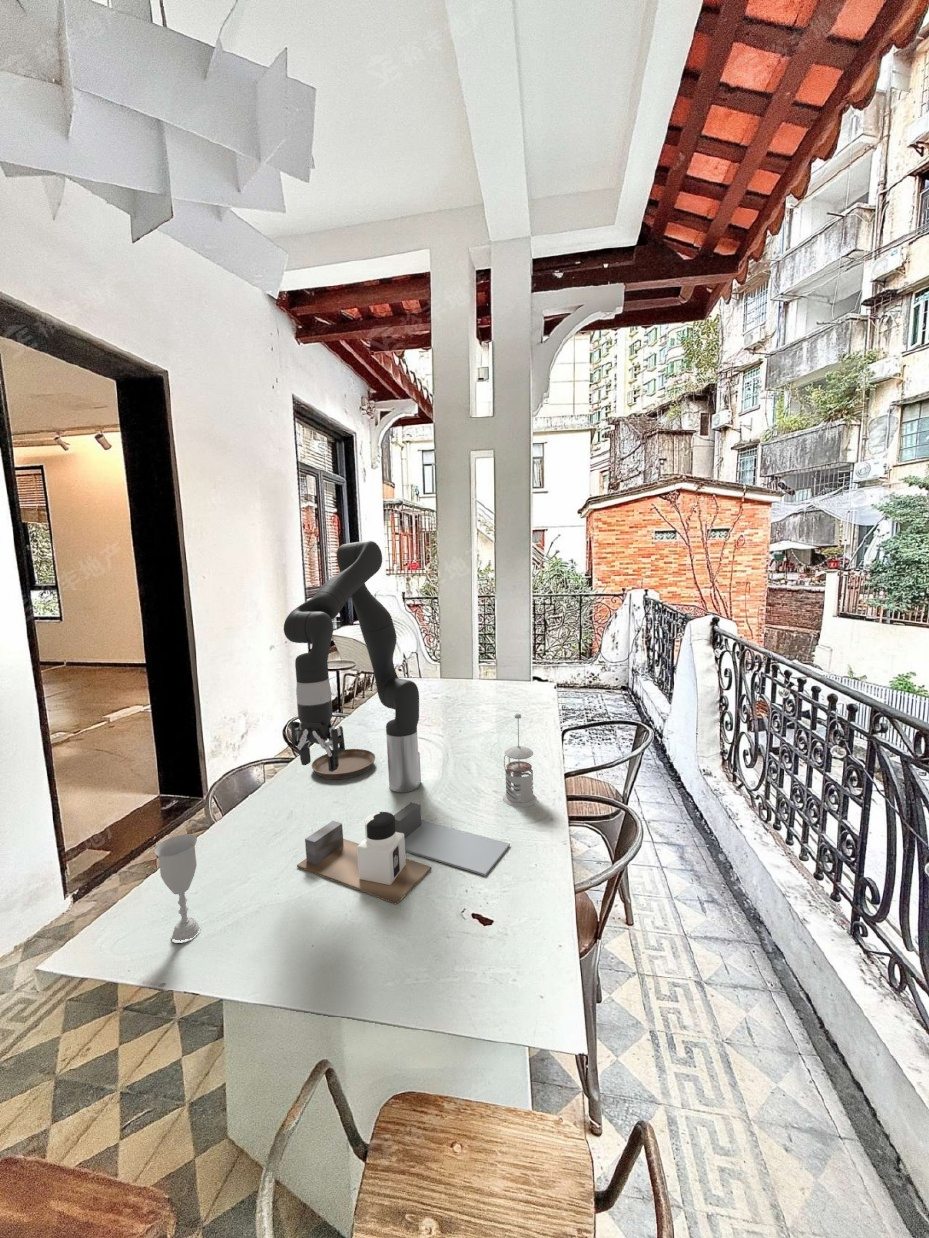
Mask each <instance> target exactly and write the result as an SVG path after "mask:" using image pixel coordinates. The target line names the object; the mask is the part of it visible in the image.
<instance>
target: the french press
mask: <svg viewBox="0 0 929 1238" xmlns="http://www.w3.org/2000/svg"><path fill="white" fill-rule="evenodd" d="M514 719H517V745H514V746H510V747H508V748H506V749H505V750H504V757H503V768H504V772H505V794H504V795H503V796H502V801H503V803H504V804H506V805H508V806H511V807H515V808H525V807H531V806H532V805H534V804H536V803H537V801H538V798H537V797H538V796H536V795H535V794H534V769H532V767H533V766H532V765H531V763H530V762H526V761H522V760H527V759H531V758H532V756H533V755H534V751H533V750H532V749H531V748H529V747H527V746H524V745H520V735H519V734H520V731H519V729H520V728H519V722H520V721H519V719H522V715H521V714H520V713H516V714H515V715H514ZM506 757H507V758H508V764H506V763H505V759H506ZM510 759H513V760H517V761H511V762H510Z"/></svg>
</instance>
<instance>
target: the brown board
mask: <svg viewBox="0 0 929 1238" xmlns="http://www.w3.org/2000/svg"><path fill="white" fill-rule="evenodd" d="M343 831H344V829H343V823H342V822H339V821H336V820H331V821H330V822H328V824H326V825H323V827H321V828H319V829H318V830H317V831H315V832H313V833H312V834H310V835H308V836H307V837H305V839H304V844H305V859H303V860H302V861H300V862H299V863H298V864H297V865H296V867H297V868H299V869H302V870H305V871H306V872H310V873H313V874H315V875H317V876H320V877H323V878H325V879H327V880H331V881H334V882H336V883H338V884H342V885H344V886H348V887H349V888H351V889H355V890H358V891H360V892H363V893H366V894H367V895H368V894H369V895H372V896H373V897H376V898H379V899H382V900H385V901H387V902H390V903H392V904H395V905H398V903H400V901H401V900H403V898H405V896H406V895H407V894H408V893H409V892H410V891H411V890H412V889H413V888H414V887H415V886H416V885H417V884H418V883H419V882H420V881H421V880H422V879H423V878H424V877H425V876H426V875H427V874H428V873H429V872H430V871H431V870H432V866H431V865H427V864H424V863H421V862H418V861H415V860H411V859H408V858H407V857H405V859H406V865H405V866H404V868H403V869H402V870H401V872H400V873H399V874H398V876H397V877H396V878H395V880H394V881H393V883H392V884H391V885H386V884H381V883H376V882H371V881H366V880H361V879H359V869H358V854H357V846H358V845H359V844H360V843H358V842H355V841H351V840H349V839H346V838H344V832H343Z"/></svg>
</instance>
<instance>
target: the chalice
mask: <svg viewBox="0 0 929 1238" xmlns="http://www.w3.org/2000/svg"><path fill="white" fill-rule="evenodd" d="M197 841H198V838H197V836H195V835H194V834H187V833H186V834H178V835H175V836H172V837H170V838H168V839H165V840H164V841H162V842H160V843H158V845H157V846H156V848H155V849H154V854H155V855H156V856H157V857H158V865H159V872H160V873H159V874H160V878H161V879H162V881H163V882H164V884H165V886H166V887H167V888H168V889H169V890H170V891H171V893H172V894H174V895H178V900H177V904H178V905H179V907H180V908H179V910H178V914H179V915H180V916H181V920H179V921H178V922H177V923H176V924H175V926H174V928H173V929H174V930H173V931H172V935H171V937H172V939H175V940H180V941H181V940H185V939H190V938H193V937H194V936H195V935H196V934H197V933H198V931H199V929H200V927H201V926H200V925H199V923H198V922H197V920H196V919H195V918H192V917H188V912H189V909H190V908H189V907H187V905H186V904H187V901H188V898H186V895H185V893H186V892H187V891H188V890H189V889H190V887H191V885H192V882H193V879H194V877H195V873H196V871H197V866H198V865H197V856H196V847H195V846H196V844H197ZM199 926H200V927H199Z"/></svg>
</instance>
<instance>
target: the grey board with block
mask: <svg viewBox="0 0 929 1238" xmlns="http://www.w3.org/2000/svg"><path fill="white" fill-rule="evenodd" d="M421 807H422V806H421V804H420V803H415V802H412V801H410V802H409V803H407V804H406V805H405V806H404V807H402V808H401V809H400V810H399V811H397V812H396V813H395V814H393V815H394V817H395V826H396V832H399V833H403V834H404V840H405V853H406V852H407V853H410V854H413V855H416V856H419V857H422V858H426V859H429V860H432V861H436V862H440V863H442V864H445V865H449V866H451V867H455V868H457V869H461V870H464V871H468V872H471V873H474V874H478V875H481V876H484V877H486V876H487V875H488V874H489V873H490V871H491V870H492V869H493V868H494V866H495V865H496V863H498V861H499V860H500V859H501V857H502V856H503V855H504V853H506V851H507V850H508V849H509V848H510V846H511V843H509V842H505V841H502V840H498V839H494V838H490V837H486V836H482V835H479V834H476V833H472V832H468V831H465V830H460V829H457V828H453V827H449V826H445V825H442V824H440V823H439V824H438V823H434V822H432V821H431V822H430V821H427V820H423V819H422V809H421Z"/></svg>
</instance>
